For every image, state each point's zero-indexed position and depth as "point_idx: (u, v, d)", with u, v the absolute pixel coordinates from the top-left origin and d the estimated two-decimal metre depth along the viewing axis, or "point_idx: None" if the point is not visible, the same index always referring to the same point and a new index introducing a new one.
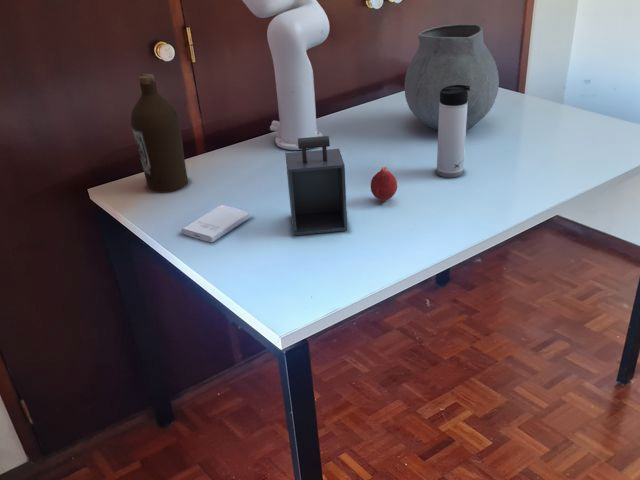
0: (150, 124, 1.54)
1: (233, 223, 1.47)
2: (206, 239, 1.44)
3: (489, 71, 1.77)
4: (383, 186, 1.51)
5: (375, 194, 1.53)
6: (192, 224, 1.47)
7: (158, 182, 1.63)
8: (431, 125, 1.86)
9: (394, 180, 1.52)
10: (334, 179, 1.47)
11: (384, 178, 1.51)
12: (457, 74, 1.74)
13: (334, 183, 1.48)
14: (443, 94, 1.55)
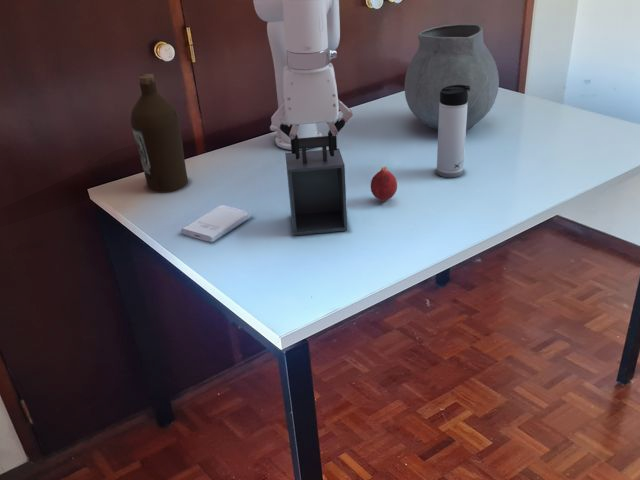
0: (150, 124, 1.54)
1: (233, 223, 1.47)
2: (206, 239, 1.44)
3: (489, 71, 1.77)
4: (383, 186, 1.51)
5: (375, 194, 1.53)
6: (192, 224, 1.47)
7: (158, 182, 1.63)
8: (431, 125, 1.86)
9: (394, 180, 1.52)
10: (334, 179, 1.47)
11: (384, 178, 1.51)
12: (457, 74, 1.74)
13: (334, 183, 1.48)
14: (443, 94, 1.55)
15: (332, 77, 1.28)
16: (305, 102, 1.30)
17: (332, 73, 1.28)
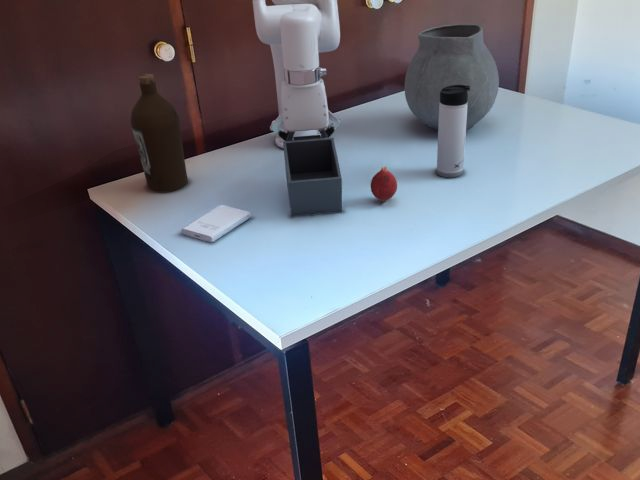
0: (150, 124, 1.54)
1: (233, 223, 1.47)
2: (206, 239, 1.44)
3: (489, 71, 1.77)
4: (383, 186, 1.51)
5: (375, 194, 1.53)
6: (192, 224, 1.47)
7: (158, 182, 1.63)
8: (431, 125, 1.86)
9: (394, 180, 1.52)
10: None
11: (384, 178, 1.51)
12: (457, 74, 1.74)
13: None
14: (443, 94, 1.55)
15: (323, 91, 1.51)
16: (300, 112, 1.52)
17: (323, 87, 1.51)
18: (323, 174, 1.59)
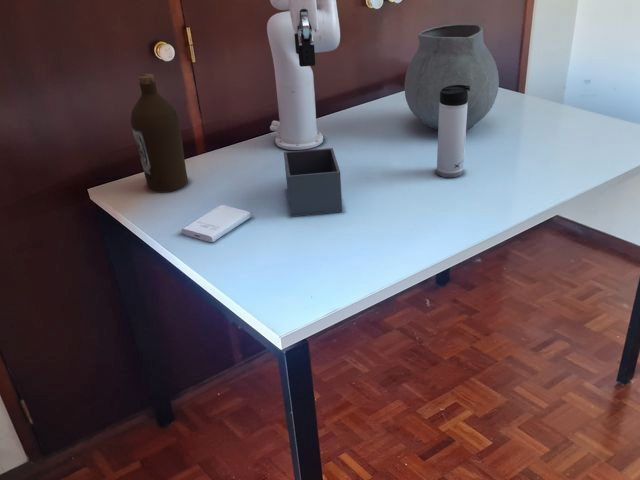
0: (150, 124, 1.54)
1: (233, 223, 1.47)
2: (206, 239, 1.44)
3: (489, 71, 1.77)
4: None
5: None
6: (192, 224, 1.47)
7: (158, 182, 1.63)
8: (431, 125, 1.86)
9: None
10: None
11: None
12: (457, 74, 1.74)
13: None
14: (443, 94, 1.55)
15: None
16: None
17: None
18: None
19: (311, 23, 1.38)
